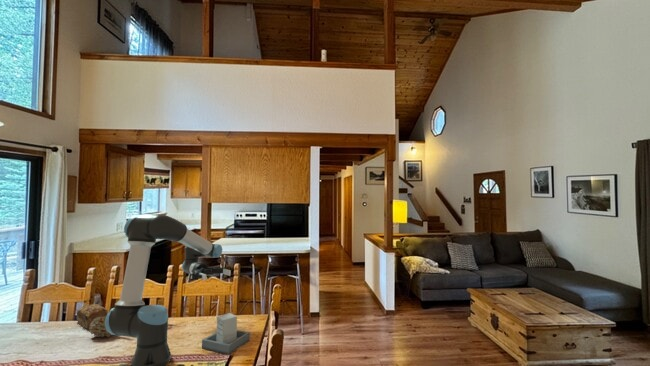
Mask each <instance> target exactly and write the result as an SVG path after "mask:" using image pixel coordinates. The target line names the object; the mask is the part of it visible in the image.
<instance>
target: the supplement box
mask: <svg viewBox="0 0 650 366" xmlns="http://www.w3.org/2000/svg"><path fill="white" fill-rule="evenodd" d="M237 319H238V316H237V315H235V314H233V313H231V312H229V313H224V314H221V315H218V316H216V332H217V337H216V342H221V343H225V344H230V343H231V342H233V341H235V340H236V339H237V330H238V329H237V328H238V327H237V326H238V324H237V323H238V320H237Z"/></svg>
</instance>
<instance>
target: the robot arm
mask: <svg viewBox="0 0 650 366" xmlns="http://www.w3.org/2000/svg"><path fill="white" fill-rule="evenodd" d="M123 233H124V234H125V237H126V238H127V243H128V244H129V245H130V246H129V252H128V256H127V257H128V258H127V262H126V267H125V272H124V279H123V282H122V286H121V287H122V288H121V292H120V299H119V300H118V301H117V302H115V303H114V307H113V308H111V309H110V310H109V312H107V313H108V314H107V316H106V319H105V327H106V330H107V331H108V332H109V333H110V334H111V335H113V336H116V337H125V338H127V337H128V338H136V347H135V351H134V354H133V356H132V359H131V361H130V366H167V365H168V364H169V363H170V362H169V360H170V359H171V360H172V352H171V350H170V347H169V344H168V331H169V329H168V327H169V326H168V325H169V313H168V312H169V311H168V309H167V307H166V306H164V305H160V304H154V305H153V304H149V305H146V304H145V301H143V296H144V295H143V293H144V288H145V283H146V277H147V271H148V265H149V262H150V255H151V249H152V247H153V246H155V244H156V241H157V240H167V241H171V242H174V243H180V244H182V245H183V246H185V247H184V261H183V263H182V264H181V269H182V271H183V272H185V273H186V274H189V275H191V279H192V280H193V279H195V280H199V279H200V280H203V281H207V276H208V275H213V274H223V275H225V276H229V277H231V271H232V270H230V269H229V268H228V267H227V266H226V267H225V266H223V267H219V266H213V267H209V266H208V265H207V264H206V263H204V262H200V261H199V259H200V258H212V259H214V258H220V257H221V256H222V253H223V246H222V245H221V244H217V243H215V244H214V243H212V242H210V241H209V240H208V239H206V238H204V237H202V236H200V235H199V234H197V233H196V232H194V231H192V230H191V229H190V228H189V229H188V227H187V225H186V224H185V223H183V222H181V221H180V220H178V219H176V218H173V217H171V216H169V215H166V214H153V213H152V214H151V213H150V214H149V213H144V214H143V213H141V214H135V215H132V216H130V217H129V218H128V219H127V220H126V221H125V224H124V228H123ZM171 360H170V361H171ZM168 362H169V363H168ZM167 363H168V364H167ZM166 364H167V365H166Z"/></svg>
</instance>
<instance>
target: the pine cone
mask: <svg viewBox="0 0 650 366" xmlns="http://www.w3.org/2000/svg"><path fill="white" fill-rule="evenodd" d="M105 319H106V317H105V316H104V317H97V318H96V319H94V320H93V321H92V322H91V324H90V325H89V326H90V327H89V329H88V331H89V332H88V333H90V334H91V335H93V336H95V337H100V338H101V337H102V338H104V337H106V338H109V337H111V336H112V334H110V333H109V332H108V331H107V330H106V327H105Z"/></svg>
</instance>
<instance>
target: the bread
mask: <svg viewBox="0 0 650 366" xmlns="http://www.w3.org/2000/svg"><path fill="white" fill-rule="evenodd" d="M108 313H109V312H108V309H107V308H105V307H104V306H102V305H99V304H97V303H93V304H91V303H90V304H87V305H83V306H82V307H81V308H78V310H76V322H77V321H78V323H77V324H78V325H80V326H81V327H82V328H84V329H86V330H89V327H90V326H89V325H90V324H91V322H92V321H93V320H94V319H96V318H97V317H104V316H105V317H106V316H107V314H108Z"/></svg>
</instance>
